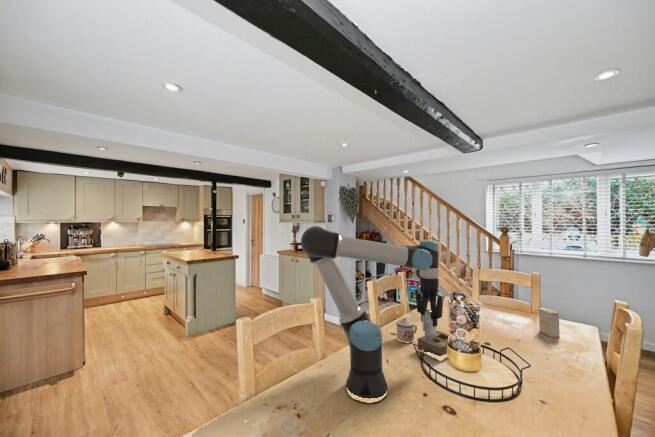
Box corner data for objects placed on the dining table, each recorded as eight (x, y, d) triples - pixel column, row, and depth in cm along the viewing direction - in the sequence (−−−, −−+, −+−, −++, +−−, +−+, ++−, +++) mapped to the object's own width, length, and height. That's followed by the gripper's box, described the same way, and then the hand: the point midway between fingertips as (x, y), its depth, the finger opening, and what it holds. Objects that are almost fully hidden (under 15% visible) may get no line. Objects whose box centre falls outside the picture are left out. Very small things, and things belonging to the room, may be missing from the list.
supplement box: (560, 337, 139) (559, 312, 139) (551, 337, 139) (550, 312, 139) (547, 331, 147) (546, 307, 147) (538, 331, 147) (538, 307, 147)
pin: (430, 341, 110) (430, 312, 111) (423, 338, 113) (423, 310, 113) (435, 339, 112) (435, 311, 113) (428, 336, 115) (428, 309, 115)
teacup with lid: (403, 345, 133) (403, 322, 133) (392, 338, 141) (392, 316, 141) (422, 341, 137) (422, 318, 137) (411, 334, 145) (410, 313, 146)
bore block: (440, 361, 117) (440, 348, 117) (417, 351, 127) (417, 338, 127) (460, 351, 125) (460, 338, 126) (437, 342, 135) (437, 330, 136)
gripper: (451, 279, 109) (452, 336, 108) (418, 272, 122) (418, 323, 122) (441, 281, 104) (441, 341, 104) (408, 274, 118) (408, 327, 118)
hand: (429, 331), depth 113 cm, fingers closed on pin, 3 cm apart
